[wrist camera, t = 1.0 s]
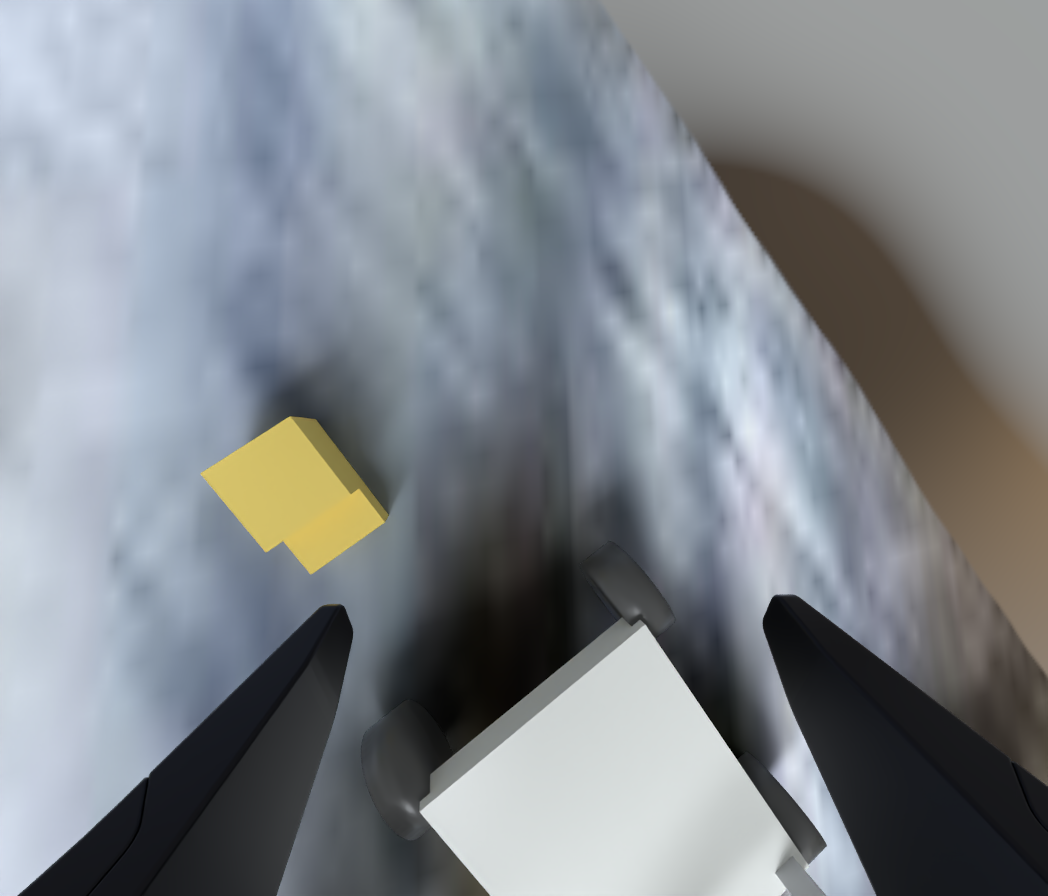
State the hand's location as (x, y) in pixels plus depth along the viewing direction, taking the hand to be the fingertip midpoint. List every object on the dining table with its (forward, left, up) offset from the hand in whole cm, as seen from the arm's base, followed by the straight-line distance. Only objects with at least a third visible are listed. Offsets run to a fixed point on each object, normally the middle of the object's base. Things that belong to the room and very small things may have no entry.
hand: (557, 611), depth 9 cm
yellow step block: (-6, +5, -14) cm, 17 cm away
